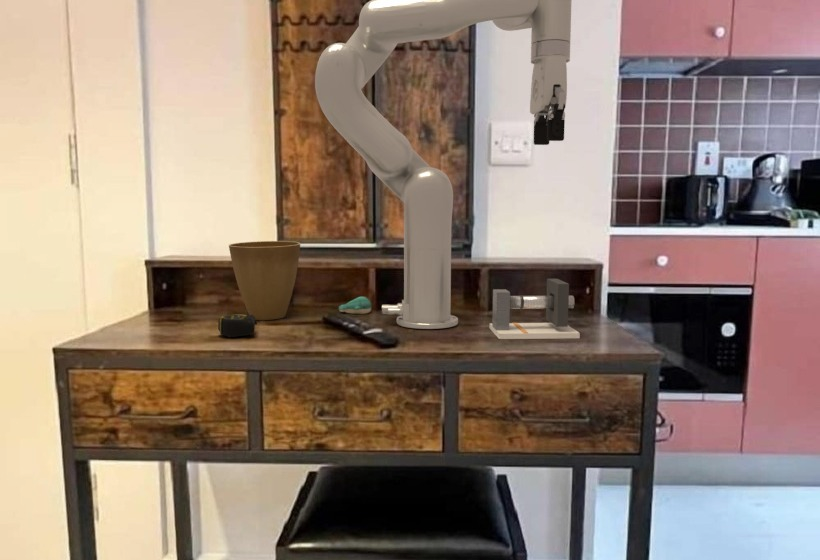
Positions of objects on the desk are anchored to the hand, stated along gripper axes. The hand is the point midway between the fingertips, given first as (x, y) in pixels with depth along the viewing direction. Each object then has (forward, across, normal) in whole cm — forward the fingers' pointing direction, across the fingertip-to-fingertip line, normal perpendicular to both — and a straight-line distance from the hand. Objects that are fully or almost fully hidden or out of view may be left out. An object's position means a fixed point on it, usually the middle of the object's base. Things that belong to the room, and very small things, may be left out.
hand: (548, 142), depth 131 cm
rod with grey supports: (+37, +10, -5) cm, 38 cm away
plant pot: (+37, -10, -58) cm, 69 cm away
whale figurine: (+37, -15, -39) cm, 56 cm away
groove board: (+37, +10, -5) cm, 38 cm away
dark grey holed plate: (+35, +10, 0) cm, 36 cm away
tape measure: (+37, +7, -60) cm, 71 cm away
